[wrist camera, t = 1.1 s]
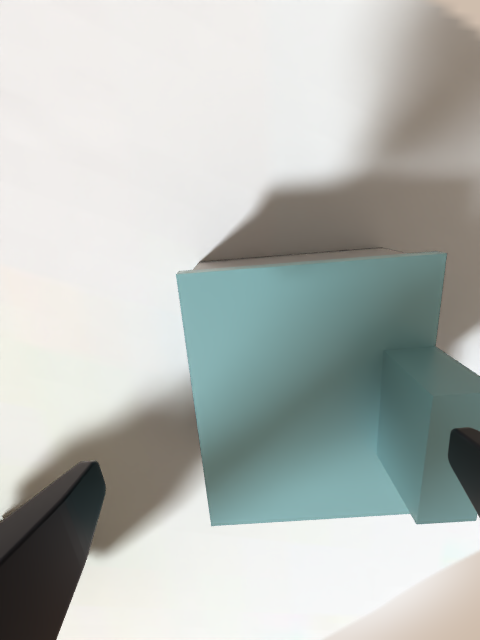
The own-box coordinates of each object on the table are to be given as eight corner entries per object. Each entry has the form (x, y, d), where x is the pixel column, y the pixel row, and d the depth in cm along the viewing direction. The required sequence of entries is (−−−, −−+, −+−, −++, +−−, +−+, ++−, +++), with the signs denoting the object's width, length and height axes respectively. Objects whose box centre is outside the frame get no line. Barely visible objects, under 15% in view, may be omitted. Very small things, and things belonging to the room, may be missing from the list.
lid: (400, 490, 20) (461, 592, 14) (213, 502, 20) (204, 606, 15) (425, 249, 15) (527, 268, 10) (182, 268, 15) (152, 297, 10)
